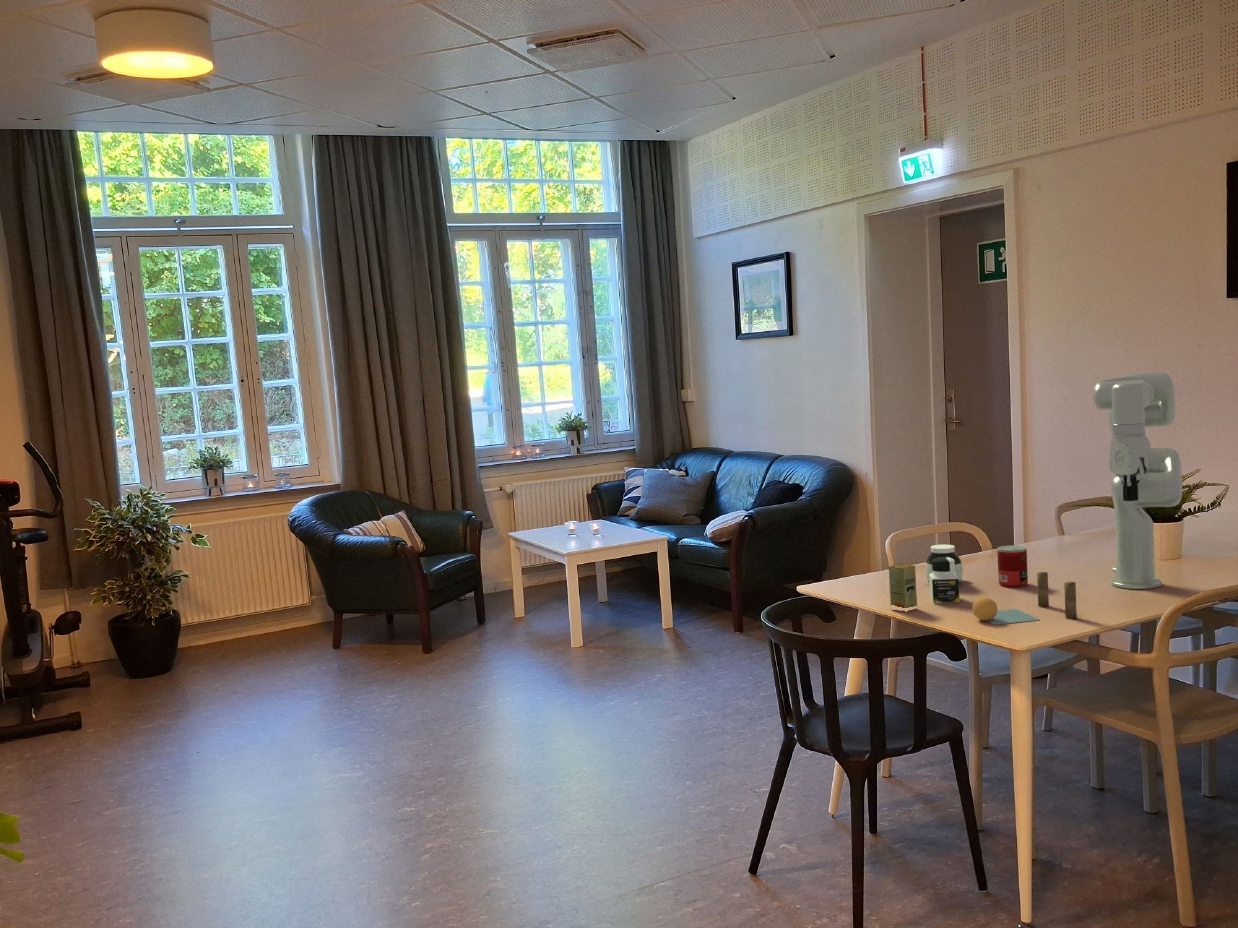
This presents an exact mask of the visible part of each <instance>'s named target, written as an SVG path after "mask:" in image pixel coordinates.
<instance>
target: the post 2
mask: <svg viewBox="0 0 1238 928" xmlns="http://www.w3.org/2000/svg"><path fill="white" fill-rule="evenodd" d="M1063 585H1064V611H1065V612H1064V615H1065V619H1067V620H1069V619H1070V620H1074V619H1075V620H1076V619H1077V618H1078V617H1077V616H1078V614H1077V590H1076V589H1077V587H1076V585H1077V583H1076V582H1075V581H1064V583H1063Z"/></svg>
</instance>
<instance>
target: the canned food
mask: <svg viewBox="0 0 1238 928" xmlns="http://www.w3.org/2000/svg"><path fill="white" fill-rule="evenodd" d="M997 571H998V573H997V574H998V576H997V577H998V585H999V586H1001V587H1005V588H1011V589H1015V588H1019V589H1020V588H1025V587H1027V586H1028V584H1029V579H1028V578H1029V577H1028V575H1029V574H1028V552H1027V547H1026V546H1023V545H1013V544H1012V545H1002V546H998V547H997Z"/></svg>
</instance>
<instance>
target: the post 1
mask: <svg viewBox="0 0 1238 928" xmlns="http://www.w3.org/2000/svg"><path fill="white" fill-rule="evenodd" d="M1048 577H1049V574H1048V572H1046V571H1038V572H1036V579H1037V581H1036V582H1037V600H1038V601H1037V605H1038V607H1040V608H1048V607H1050V602H1049V601H1050V599H1049V597H1050V596H1049V578H1048Z"/></svg>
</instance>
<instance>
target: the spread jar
mask: <svg viewBox="0 0 1238 928" xmlns="http://www.w3.org/2000/svg"><path fill="white" fill-rule="evenodd" d="M955 548H956V547H955V545H953V544H935V545H931V546H930V553H929V555H928V556H927V557H926V559H925V576H926V580H927V582H928V583H929V584H930V581H929V574H930V573H932V560H933V559H935V558H938V557H949V558H952V559H954V562H955V573H956V575H957V576H958V578H959V584H960V583H961V581H962V580H963V573H964V572H963V571H964V567H963V565H962V564H963V563H962V561H961V557H959V555H958V554H957V553H956V552H955V551H956V550H955Z"/></svg>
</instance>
